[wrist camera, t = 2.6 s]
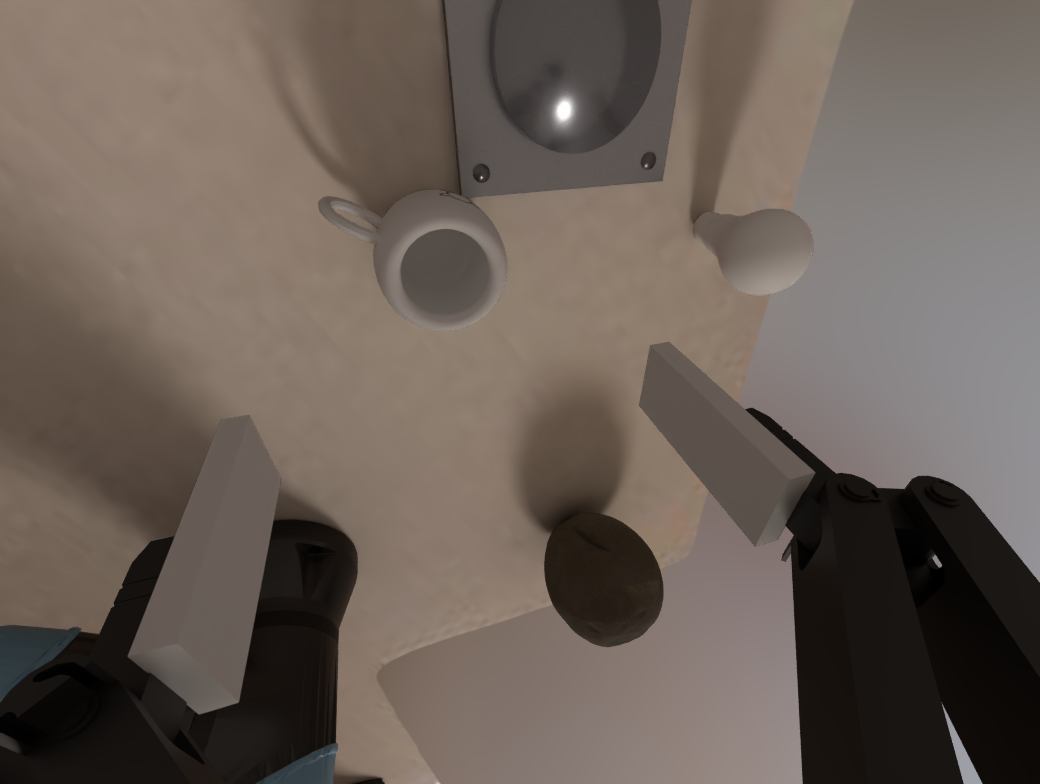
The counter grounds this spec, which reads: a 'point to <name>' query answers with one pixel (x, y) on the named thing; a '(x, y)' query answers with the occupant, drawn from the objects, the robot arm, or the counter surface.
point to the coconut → (602, 579)
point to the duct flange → (562, 91)
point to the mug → (431, 256)
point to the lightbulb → (757, 248)
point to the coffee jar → (374, 782)
